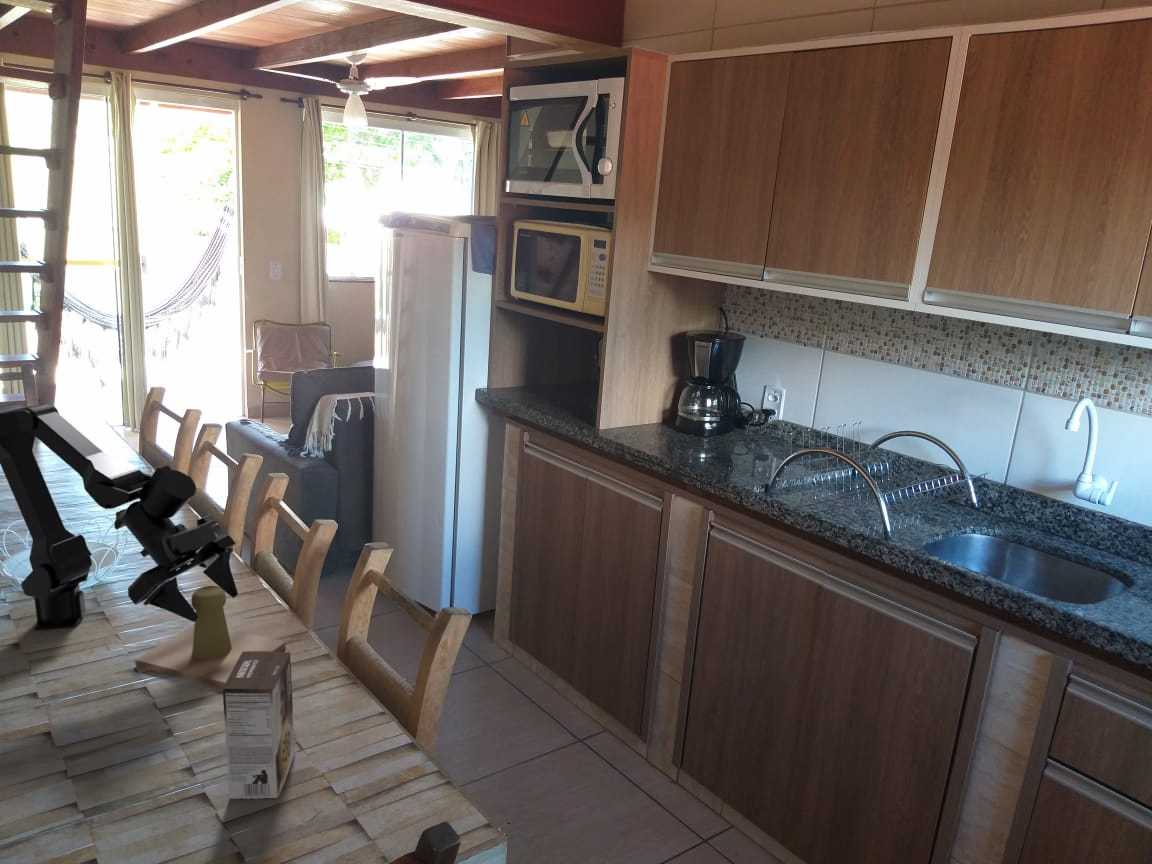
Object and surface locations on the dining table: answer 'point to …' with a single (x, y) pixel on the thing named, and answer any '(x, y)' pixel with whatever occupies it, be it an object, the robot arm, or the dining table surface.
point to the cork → (210, 624)
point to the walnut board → (181, 663)
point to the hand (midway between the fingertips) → (216, 607)
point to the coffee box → (259, 724)
